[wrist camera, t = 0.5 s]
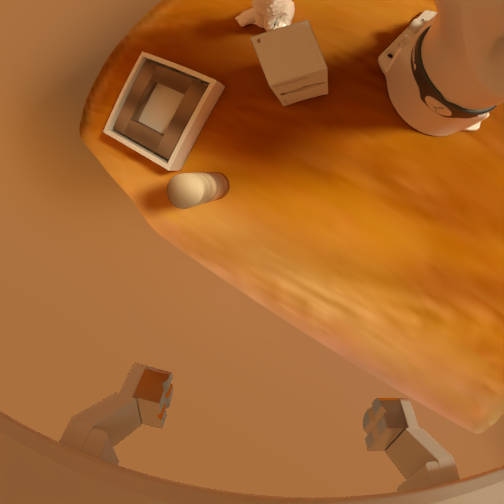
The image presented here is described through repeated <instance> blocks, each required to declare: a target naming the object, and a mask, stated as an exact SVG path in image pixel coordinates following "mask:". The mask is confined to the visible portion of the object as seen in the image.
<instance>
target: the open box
mask: <svg viewBox="0 0 504 504" xmlns="http://www.w3.org/2000/svg"><path fill="white" fill-rule="evenodd" d="M146 61H148V62H151V63H153V64H156V65H158V66H161V67H164V68H166V69H169V70H171V71H174V72H176V73H179V74H181V75H184V76H186V77H188V78H191V79H193V80H195V81H198V82H200V83H202V84H205V85H207V86H208V87H207V89H206V91H205V93H204V94H203V96H202V98H201V100H200V101H199V103H198V105H197V107H196V109H195V111H194V112H193V114H192V116H191V118H190V120H189V122H188V124H187V126H186V128H185V129H184V131H183V133H182V135H181V137H180V139H179V141H178V143H177V145H176V147H175V149H174V151H173V153H172V155H171V157H170V159H169V160H168V159H166V158H165V157H163V156H161V155H159V154H158V153H156V152H154V151H152V150H151V149H149V148H147V147H145V146H144V145H142V144H140V143H138V142H137V141H135V140H133V139H131V138H129V137H128V136H126V135H124V134H122V133H121V132H119V131H117V130H115V129H113V127H114V125H115V122H116V120H117V118H118V116H119V114H120V111H121V109H122V107H123V105H124V103H125V101H126V99H127V97H128V95H129V93H130V91H131V89H132V87H133V85H134V83H135V81H136V79H137V77H138V75H139V73H140V71H141V69H142V68H143V66H144V64H145V62H146ZM224 89H225V86H224V85H223V84H221V83H220V82H218V81H217V80H215V79H213V78H210V77H208V76H206V75H203V74H201V73H198V72H196V71H194V70H191V69H189V68H186V67H184V66H181V65H179V64H176V63H173V62H171V61H168V60H165V59H163V58H160V57H157V56H154V55H151V54H148V53H146V52H143V51H142V53H141V55H140V56H139V58H138V60H137V62H136V64H135V66H134V67H133V69H132V71H131V73H130V75H129V77H128V79H127V81H126V83H125V85H124V87H123V89H122V91H121V93H120V95H119V97H118V99H117V101H116V104H115V106H114V108H113V110H112V112H111V114H110V117H109V119H108V121H107V124H106V126H105V128H104V131H103V132H104V133H105V134H107V135H109V136H111V137H112V138H114V139H116V140H117V141H119V142H121V143H123V144H124V145H126V146H128V147H130V148H131V149H133V150H135V151H136V152H138V153H140V154H141V155H143V156H145V157H147V158H148V159H150V160H152V161H153V162H155V163H157V164H158V165H160V166H162V167H163V168H165V169H167V170H168V171H180V170H181V169H182V167H183V165H184V163H185V161H186V159H187V157H188V155H189V153H190V151H191V149H192V147H193V145H194V143H195V141H196V139H197V137H198V135H199V134H200V132H201V130H202V128H203V126H204V124H205V122H206V121H207V119H208V117H209V115H210V113H211V111H212V110H213V108H214V106H215V104H216V103H217V101H218V99H219V97H220V96H221V94H222V92H223V90H224ZM183 97H184V94H182V93H180V92H178V91H175V90H173V89H171V88H169V87H166V86H164V85H162V84H159V83H157V85H156V86H155V88H154V90H153V92H152V94H151V96H150V98H149V100H148V102H147V104H146V106H145V108H144V110H143V112H142V114H141V116H140V118H139V120H138V121H139V122H141V123H143V124H145V125H147V126H149V127H151V128H153V129H154V130H156V131H158V132H160V133H162V134H164V133H165V131H166V129H167V127H168V125H169V123H170V121H171V119H172V118H173V116H174V114H175V112H176V110H177V108H178V106H179V104H180V102H181V100H182V99H183Z"/></svg>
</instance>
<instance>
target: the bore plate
mask: <svg viewBox="0 0 504 504" xmlns="http://www.w3.org/2000/svg"><path fill="white" fill-rule="evenodd" d="M157 83H159V84H162V85H164V86H166V87H169V88H171V89H173V90H175V91H178V92H180V93H182V94H184V97H183V99H182V100H181V102H180V104H179V106H178V108H177V110H176V112H175V114H174V116H173V118H172V119H171V121H170V123H169V125H168V127H167V129H166V131H165V133H164V134H162V133H160V132H158V131H156V130H154V129H153V128H151V127H149V126H147V125H145V124H143V123H141V122H139V121H138V120H139V118H140V116H141V114H142V112H143V110H144V108H145V106H146V104H147V102H148V100H149V98H150V96H151V94H152V92H153V90H154V88H155V86H156V85H157ZM207 87H208V86H207V85H205V84H202V83H200V82H198V81H195V80H193V79H191V78H188V77H186V76H184V75H181V74H179V73H176V72H174V71H171V70H169V69H166V68H164V67H161V66H158V65H156V64H153V63H151V62H148V61H146V62H145V64H144V66H143V68H142V69H141V71H140V73H139V75H138V77H137V79H136V81H135V83H134V85H133V87H132V89H131V91H130V93H129V95H128V97H127V99H126V101H125V103H124V105H123V107H122V109H121V111H120V114H119V116H118V118H117V120H116V122H115V125H114V127H113V129H115V130H117V131H119V132H121V133H122V134H124V135H126V136H128V137H129V138H131V139H133V140H135V141H137V142H138V143H140V144H142V145H144V146H145V147H147V148H149V149H151V150H152V151H154V152H156V153H158V154H159V155H161V156H163V157H165V158H166V159H168V160H169V159H170V157H171V155H172V153H173V151H174V149H175V147H176V145H177V143H178V141H179V139H180V137H181V135H182V133H183V131H184V129H185V128H186V126H187V124H188V122H189V120H190V118H191V116H192V114H193V112H194V111H195V109H196V107H197V105H198V103H199V101H200V100H201V98H202V96H203V94H204V93H205V91H206V89H207Z"/></svg>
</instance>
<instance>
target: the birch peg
mask: <svg viewBox="0 0 504 504" xmlns="http://www.w3.org/2000/svg"><path fill="white" fill-rule="evenodd" d="M228 191H229V181H228V179H227V177H226V176H225V175H224V174H222V173H219V172H203V173H181V174H177V175H175V176H174V177H173V178H172V179H171V180H170V182H169V184H168V187H167V194H168V198H169V200H170V202H171V203H172V204H173V205H174V206H176V207H178V208H181V209H185V208H189V207H193V206H196V205H200V204H204V203H207V202H211V201H215V200H218V199H221V198H223V197H225V196H226V194H227V193H228Z"/></svg>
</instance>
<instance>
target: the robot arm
mask: <svg viewBox="0 0 504 504" xmlns="http://www.w3.org/2000/svg"><path fill="white" fill-rule="evenodd" d="M434 2H435V5H436V8H437V12H434V11H428V10H426V11H424V12H423V13H422V14H421V15H420V16H419V17H418V18H417V19H416V18H415V19H414V20H413V21H412V22H411V24H410V25H409V26H408V27H407V28H406V29H405V30H404V31H403V32H402V33H401V34H400V35H399V36H398V37H397V38H396V39H395V40H394V41H393V42H392V43H391V44H390V45H389V46H388V47H387V48H386V49H385V50H384V51H383V52H382V54H381V55H380V56H379V57H378V64H379V66H380V68H381V70H382V72H383V73H384V75H385V77H386V81H387V89H388V93H389V97H390V100H391V102H392V104H393V106H394V108H395V109H396V111H397V112H398V114H399V115H400V116H401V117H402V119H403V120H404V121H405V122H407V123H408V124H409V125H410V126H411V127H413V128H414V129H416V130H418V131H420V132H422V133H425V134H428V135H432V136H446V135H450V134H452V133H455V132H457V131H461V130H462V131H476V130H477V129H479V127H480V123H481V121H482V120H484V119H486V118H487V117H488V116H489V113H488V112H489V111H491V110H492V109H494V108H495V107H496V106H497V105H498V104H501V103H504V0H434ZM388 55H391V56H392V58H389V57H388ZM171 381H172V373H171V372H168V371H164V370H160V369H156V368H153V367H149V366H145V365H142V364H138V363H134V364H133V365H132V367H131V369H130V372H129V373H128V375H127V378H126V380H125V382H124V384H123V386H122V388H121V391H120V392H119V393H117V392H115V393H114V394H112V395H110V396H108V397H107V398H105V399H103V400H101V401H100V402H98V403H96V404H95V405H93V406H91V407H89V408H87V409H86V410H84V411H82V412H80V413H78V414H77V415H75V416H73V417H72V418H71V419H70V421H69V423H68V425H67V428H66V429H65V431H64V433H63V435H62V437H61V439H60V441H59V442H58V441H55V440H53V439H51V438H49V437H47V436H45V435H43V434H41V433H39V432H37V431H35V430H33V429H31V428H29V427H27V426H26V425H24V424H22V423H20V422H18V421H17V420H15V419H13V418H11V417H10V416H8V415H6V414H5V413H3V412H1V411H0V504H504V466H501V467H499V468H495V469H492V470H489V471H487V472H483V473H480V474H477V475H474V476H470V477H466V478H463V479H459V475H458V471H457V468H456V465H455V461H454V458H453V457H452V456H451V455H450V454H449V453H448V452H447V451H446V450H445V449H444V448H443V447H442V446H441V445H440V444H439V443H437V442H436V441H435V440H434V439H433V438H432V437H431V436H430V435H429V434H428V433H427V432H426V431H425V430H424V429H423V428H420V427H418V424H417V420H416V418H415V415H414V411H413V408H412V405H411V402H410V400H409V399H408V398H376V399H375V400H374V401H373V403H372V406H373V407H371V408H369V409H368V410H367V411H366V413H365V415H364V419H363V428H364V430H365V432H366V433H367V434H368V435H367V436H366V438H365V439H366V445H367V450H368V451H385V453H386V454H387V455H388V456H389V458H390V459H391V460H392V462H393V463H394V464H395V466H396V467H397V468H398V470H399V471H400V472H401V474H402V475H403V476H404V477H405V478H406V481H404V482H403V483H402V484H401V485H399V486H398V488H397V490H398V492H392V493H385V494H375V495H364V496H350V497H329V498H328V497H327V498H325V497H324V498H308V497H306V498H305V497H279V496H265V495H254V494H244V493H236V492H229V491H222V490H216V489H210V488H204V487H198V486H194V485H188V484H184V483H179V482H175V481H171V480H167V479H163V478H159V477H155V476H151V475H148V474H144V473H140V472H137V471H134V470H131V469H127V468H124V467H121V466H118V464H119V460H118V458H117V456H116V453H115V451H114V449H113V447H114V446H115V445H117V444H118V443H119V442H120V441H122V440H123V439H124V438H126V437H127V436H128V435H129V434H131V433H132V432H133V431H134V430H136V429H137V428H138V427H140V426H141V424H145V425H149V426H153V427H157V428H163V425H164V421H165V418H166V408H168V407H169V406H170V402H171V398H172V392H173V386H172V384H171Z"/></svg>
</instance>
